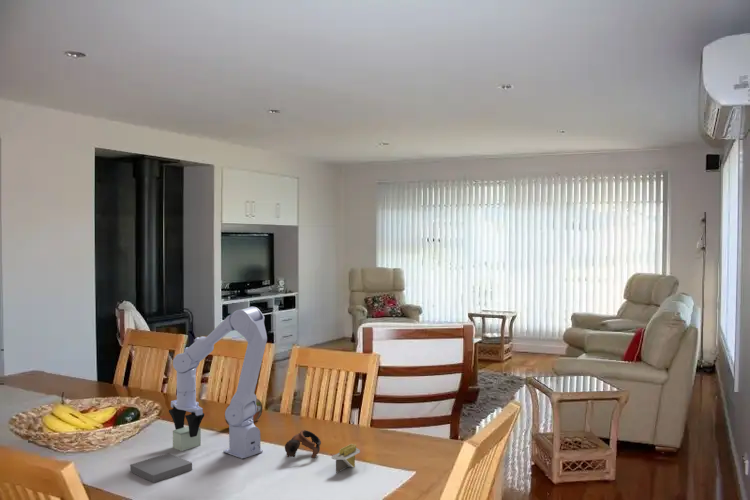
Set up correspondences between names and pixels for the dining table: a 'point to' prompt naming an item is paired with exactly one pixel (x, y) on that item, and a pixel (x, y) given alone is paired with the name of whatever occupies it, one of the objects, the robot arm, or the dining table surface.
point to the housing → (185, 439)
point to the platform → (346, 457)
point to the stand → (160, 467)
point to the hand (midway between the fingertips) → (186, 433)
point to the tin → (258, 412)
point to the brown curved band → (303, 443)
